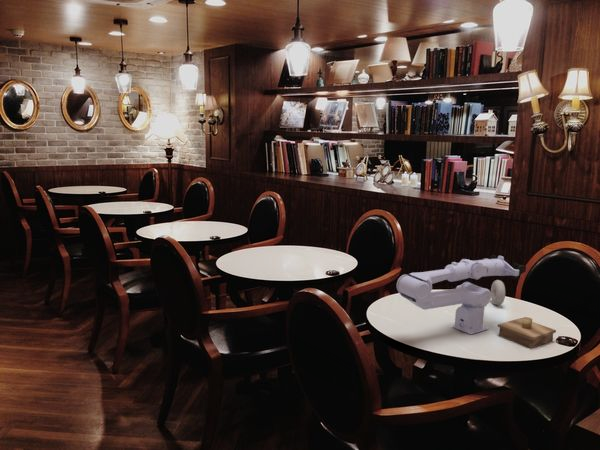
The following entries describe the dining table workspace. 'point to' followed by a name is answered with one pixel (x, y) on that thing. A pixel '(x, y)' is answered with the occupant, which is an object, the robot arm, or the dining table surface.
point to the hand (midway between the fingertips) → (516, 265)
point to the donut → (498, 292)
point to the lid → (526, 328)
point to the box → (525, 340)
